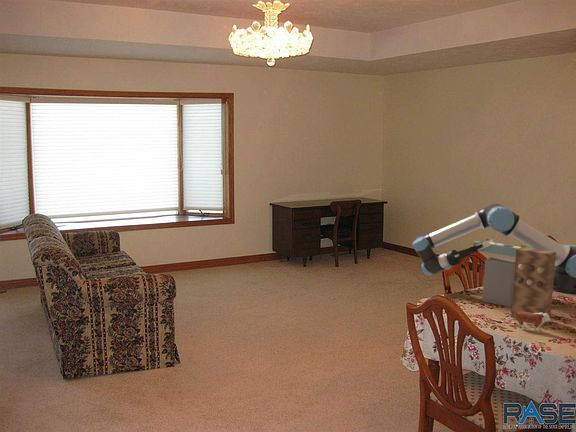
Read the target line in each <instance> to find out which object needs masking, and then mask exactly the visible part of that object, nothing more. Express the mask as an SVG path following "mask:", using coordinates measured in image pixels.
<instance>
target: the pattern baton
mask: <svg viewBox="0 0 576 432" xmlns="http://www.w3.org/2000/svg"><path fill="white" fill-rule="evenodd" d="M482 242H485V240H475V241H473V246H476V245H478V244H480V243H482ZM489 243H490V245H491V246H488V247H486V248H483V249H481V250H478V249H477V251H478V252H484V253H489V254H495V255H501V256H507V257H514V258H516V249H519V248H521V247H522V246H517V245H515V246H514V245H512V244H511V245H510V244H505V243H504V244H503V243H496V242H494V243H492V242H489Z"/></svg>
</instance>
